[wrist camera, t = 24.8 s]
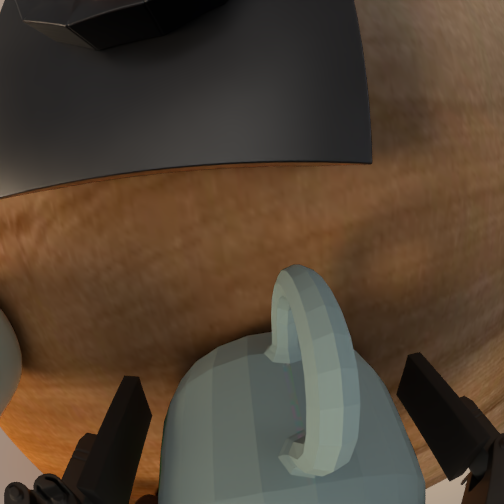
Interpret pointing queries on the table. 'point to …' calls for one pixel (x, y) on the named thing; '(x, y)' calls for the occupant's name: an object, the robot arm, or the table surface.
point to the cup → (8, 362)
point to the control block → (177, 88)
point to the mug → (288, 416)
